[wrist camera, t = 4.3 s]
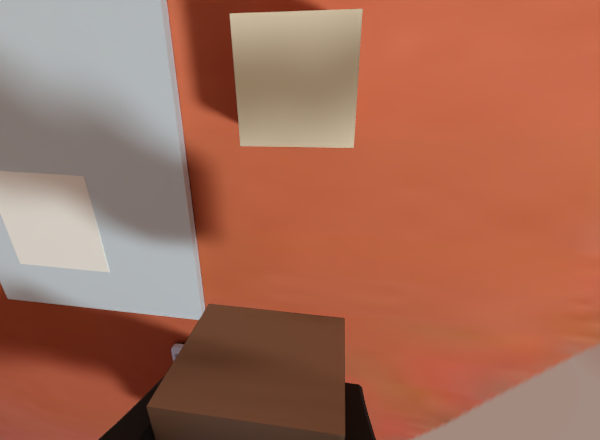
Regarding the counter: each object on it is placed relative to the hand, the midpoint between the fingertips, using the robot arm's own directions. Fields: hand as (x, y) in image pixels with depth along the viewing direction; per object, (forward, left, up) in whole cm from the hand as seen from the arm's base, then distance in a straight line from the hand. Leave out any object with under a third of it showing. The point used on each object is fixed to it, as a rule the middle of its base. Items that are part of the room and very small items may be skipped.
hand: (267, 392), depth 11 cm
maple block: (+10, 0, -10) cm, 14 cm away
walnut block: (0, 0, -2) cm, 2 cm away
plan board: (+4, +15, -10) cm, 19 cm away
